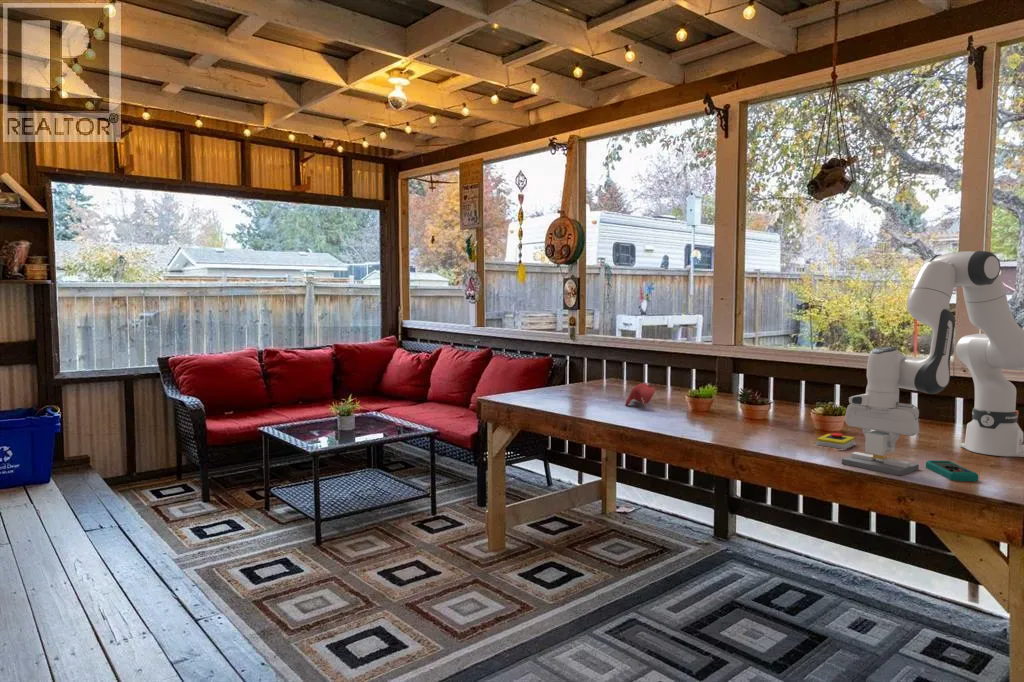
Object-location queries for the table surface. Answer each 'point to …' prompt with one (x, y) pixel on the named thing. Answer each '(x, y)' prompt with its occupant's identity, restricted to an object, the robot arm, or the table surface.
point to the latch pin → (880, 456)
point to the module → (878, 442)
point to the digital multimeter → (952, 471)
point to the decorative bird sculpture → (641, 393)
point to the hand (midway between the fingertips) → (880, 445)
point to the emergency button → (835, 441)
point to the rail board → (880, 464)
